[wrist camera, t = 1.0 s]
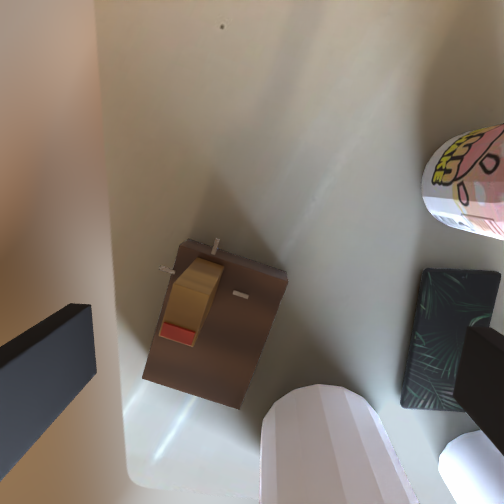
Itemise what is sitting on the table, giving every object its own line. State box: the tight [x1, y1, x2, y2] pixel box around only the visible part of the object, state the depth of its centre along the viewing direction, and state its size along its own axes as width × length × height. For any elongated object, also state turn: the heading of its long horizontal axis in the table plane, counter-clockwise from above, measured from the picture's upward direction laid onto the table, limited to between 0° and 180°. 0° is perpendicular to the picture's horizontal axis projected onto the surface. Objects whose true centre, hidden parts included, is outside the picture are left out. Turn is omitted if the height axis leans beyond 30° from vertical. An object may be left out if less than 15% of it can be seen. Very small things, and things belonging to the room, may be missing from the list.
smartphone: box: [400, 268, 501, 412], centre depth 30 cm, size 7×1×15 cm
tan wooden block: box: [159, 257, 224, 347], centre depth 24 cm, size 4×2×7 cm, turn 161°
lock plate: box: [142, 239, 288, 410], centre depth 30 cm, size 16×11×3 cm
